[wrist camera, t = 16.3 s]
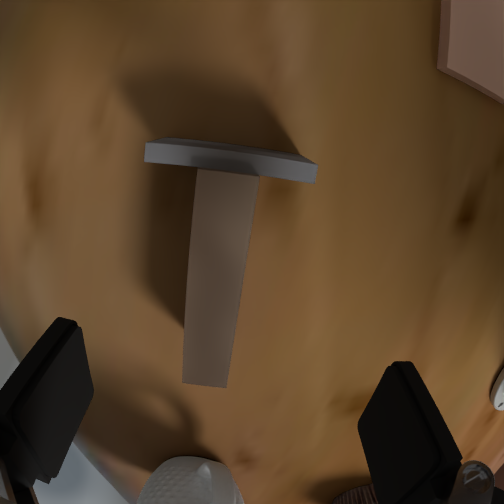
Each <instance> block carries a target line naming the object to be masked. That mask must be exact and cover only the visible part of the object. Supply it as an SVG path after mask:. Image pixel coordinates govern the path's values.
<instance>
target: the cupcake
mask: <svg viewBox="0 0 504 504" xmlns="http://www.w3.org/2000/svg"><path fill="white" fill-rule="evenodd" d="M332 504H378V501H377V497H376V494H375V490H374V486H373V483H372V484H369V485H366V486H361V487H357V488H354V489H352V490H349V491H346V492H344V493H342V494H340V495H339V496H337V497H336V498H335V499H334V501H333V502H332Z"/></svg>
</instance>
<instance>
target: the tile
mask: <svg viewBox="0 0 504 504" xmlns="http://www.w3.org/2000/svg"><path fill="white" fill-rule="evenodd" d="M437 69H438V70H440V71H442V72H444V73H446V74H448V75H450V76H452V77H454V78H456V79H458V80H460V81H462V82H464V83H466V84H468V85H470V86H471V87H473V88H475V89H477V90H479V91H481V92H482V93H484V94H486V95H487V96H489V97H491V98H493V99H494V100H496V101H498V102H499V103H501V104H504V0H441V19H440V36H439V49H438V59H437Z"/></svg>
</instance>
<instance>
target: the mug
mask: <svg viewBox="0 0 504 504" xmlns="http://www.w3.org/2000/svg"><path fill="white" fill-rule="evenodd" d="M137 504H244V502H243V499H242V495H241V494H240V490H239V489H238V486H237V484H236V482H235V481H234V480H233V477H232V474H231V472H230V470H229V469H228V467H227V466H226V465H224V464H222V463H220V462H216V461H212V460H209V459H205V458H201V457H194V456H179V457H174V458H171V459H168V460H167V461H165V462H164V463H162V464H161V465H160V466H159V467H158V468H157V469H156V470H155V471H154V472H153V473H152V474H151V476H150V477H149V479H148V480H147V482H146V483H145V485H144V487H143V489H142V491H141V494H140V495H139V498H138V501H137Z"/></svg>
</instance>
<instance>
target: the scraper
mask: <svg viewBox="0 0 504 504" xmlns="http://www.w3.org/2000/svg"><path fill="white" fill-rule="evenodd" d="M144 162H152V163H163V164H174V165H184V166H193V167H199V168H198V170H197V178H196V187H195V196H194V206H193V216H192V226H191V237H190V249H189V261H188V275H187V289H186V305H185V323H184V345H183V375H182V383H187V384H195V385H203V386H211V387H221V388H226V387H227V380H228V374H229V367H230V361H231V355H232V348H233V342H234V335H235V329H236V323H237V316H238V310H239V304H240V297H241V291H242V285H243V278H244V272H245V266H246V259H247V253H248V247H249V241H250V234H251V228H252V222H253V216H254V209H255V203H256V197H257V191H258V185H259V178H260V176H259V175H263V176H269V177H276V178H282V179H288V180H294V181H300V182H306V183H312V184H315V179H316V174H317V169H318V165H317V164H315V163H314V162H312V161H310V160H309V159H307V158H305V157H303V156H302V155H298V154H293V153H287V152H281V151H275V150H269V149H262V148H256V147H249V146H242V145H234V144H227V143H218V142H210V141H201V140H191V139H181V138H170V137H166V138H162V139H157V140H154V141H150V142H146V145H145V156H144Z"/></svg>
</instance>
